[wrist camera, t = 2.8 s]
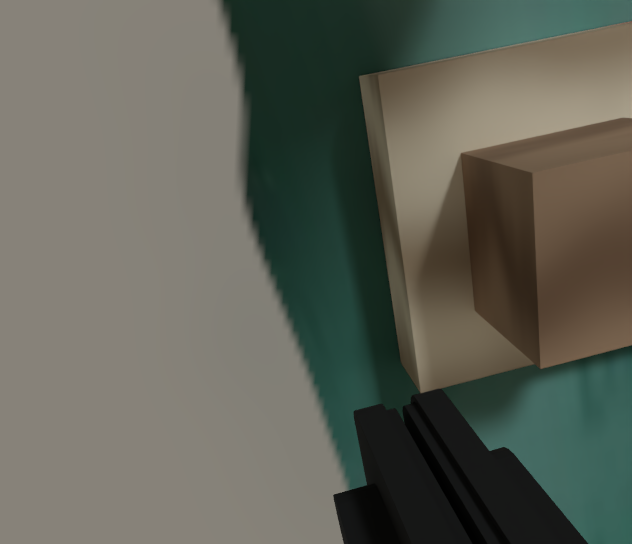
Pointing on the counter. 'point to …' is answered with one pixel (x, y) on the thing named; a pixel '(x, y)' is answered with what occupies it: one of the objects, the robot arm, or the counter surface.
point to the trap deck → (447, 177)
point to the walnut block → (554, 240)
